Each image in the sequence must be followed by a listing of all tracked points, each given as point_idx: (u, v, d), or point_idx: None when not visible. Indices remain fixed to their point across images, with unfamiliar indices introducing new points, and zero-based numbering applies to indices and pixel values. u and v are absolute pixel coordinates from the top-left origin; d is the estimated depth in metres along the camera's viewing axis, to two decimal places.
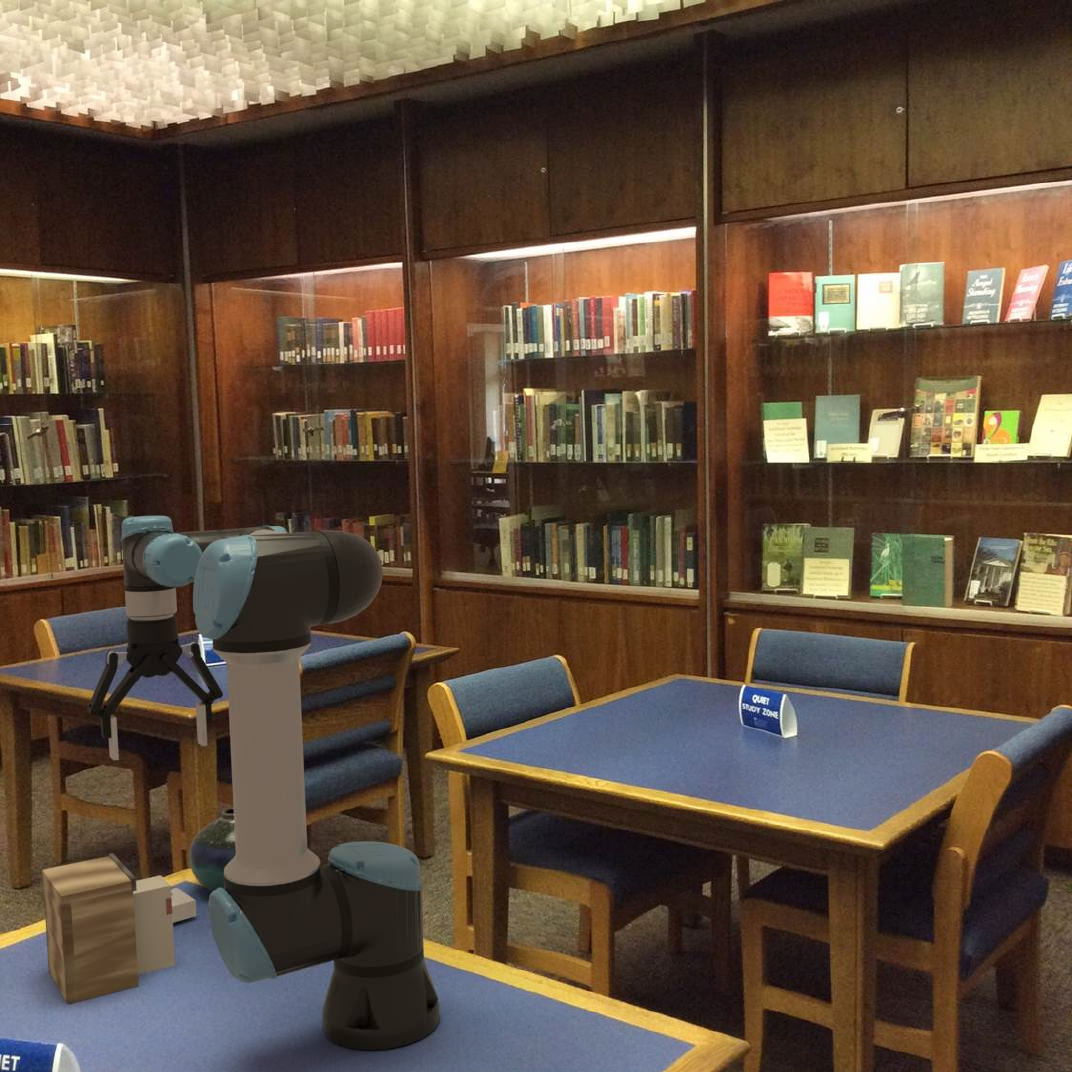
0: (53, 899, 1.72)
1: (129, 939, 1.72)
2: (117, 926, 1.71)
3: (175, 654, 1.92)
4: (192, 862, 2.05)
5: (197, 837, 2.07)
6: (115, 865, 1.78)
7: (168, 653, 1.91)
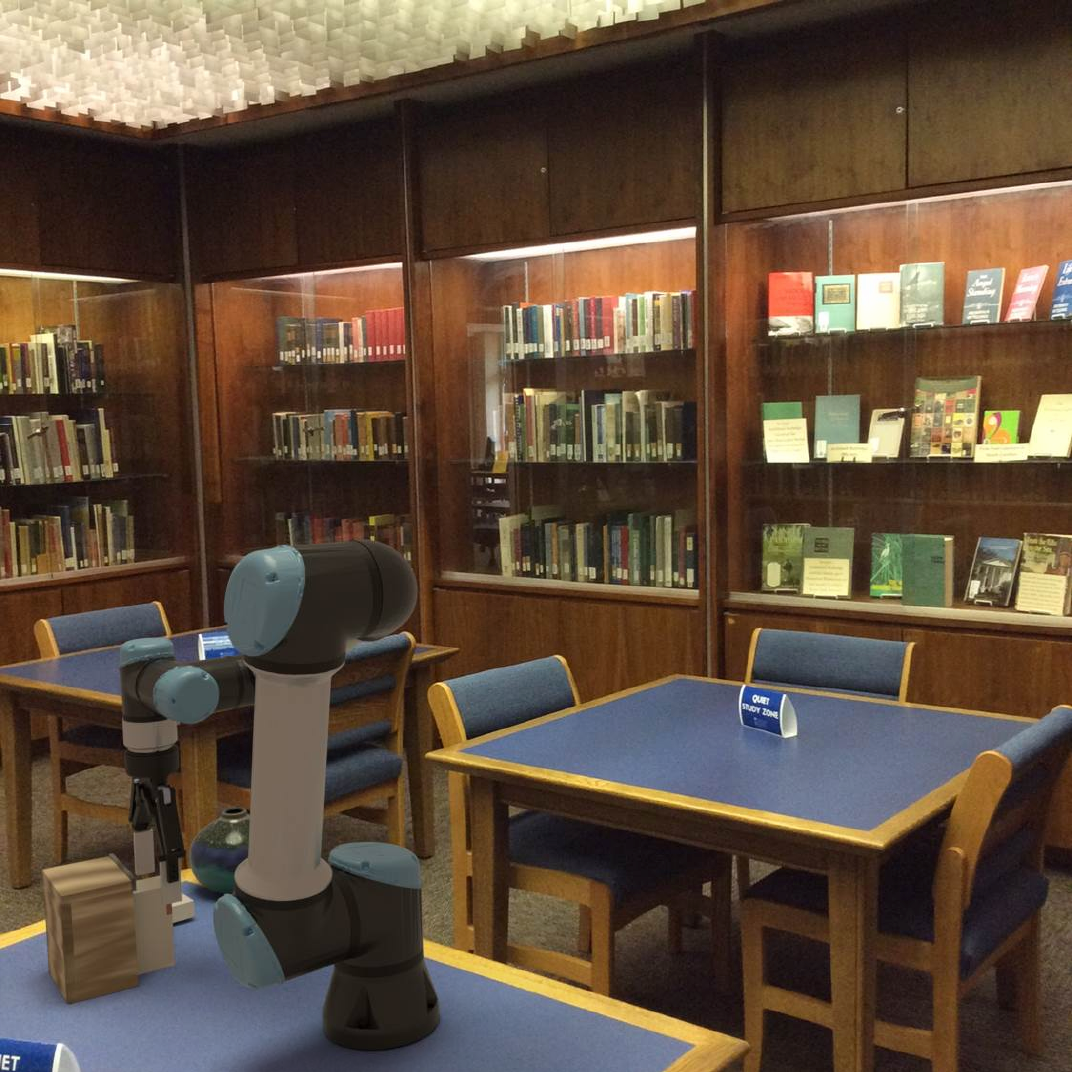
0: (53, 899, 1.72)
1: (129, 939, 1.72)
2: (117, 926, 1.71)
3: (151, 793, 1.76)
4: (192, 862, 2.05)
5: (197, 837, 2.07)
6: (115, 865, 1.78)
7: (149, 789, 1.77)
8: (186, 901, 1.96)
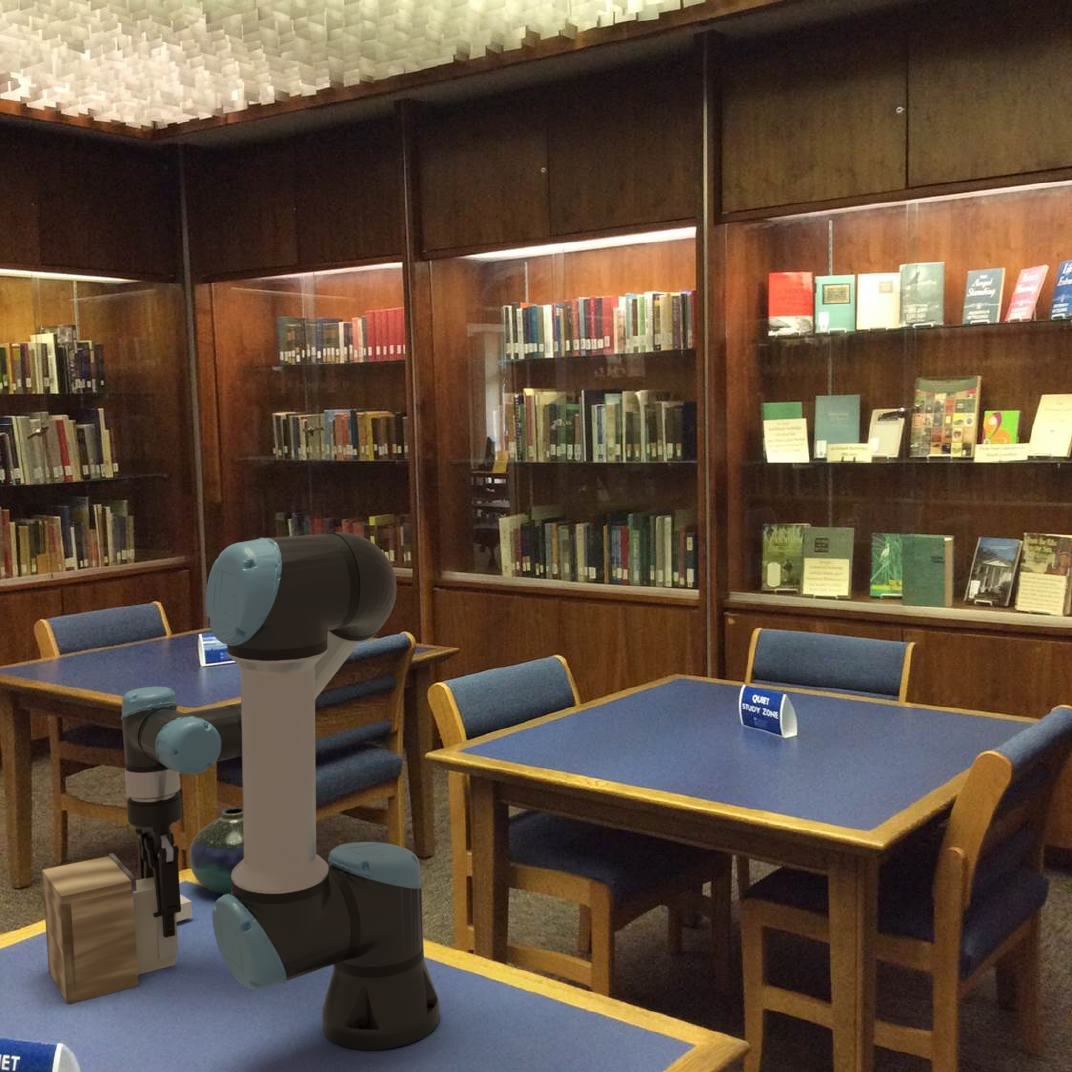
0: (53, 899, 1.72)
1: (129, 939, 1.72)
2: (117, 926, 1.71)
3: (154, 842, 1.77)
4: (192, 862, 2.05)
5: (197, 837, 2.07)
6: (115, 865, 1.78)
7: (152, 835, 1.77)
8: (184, 902, 1.95)
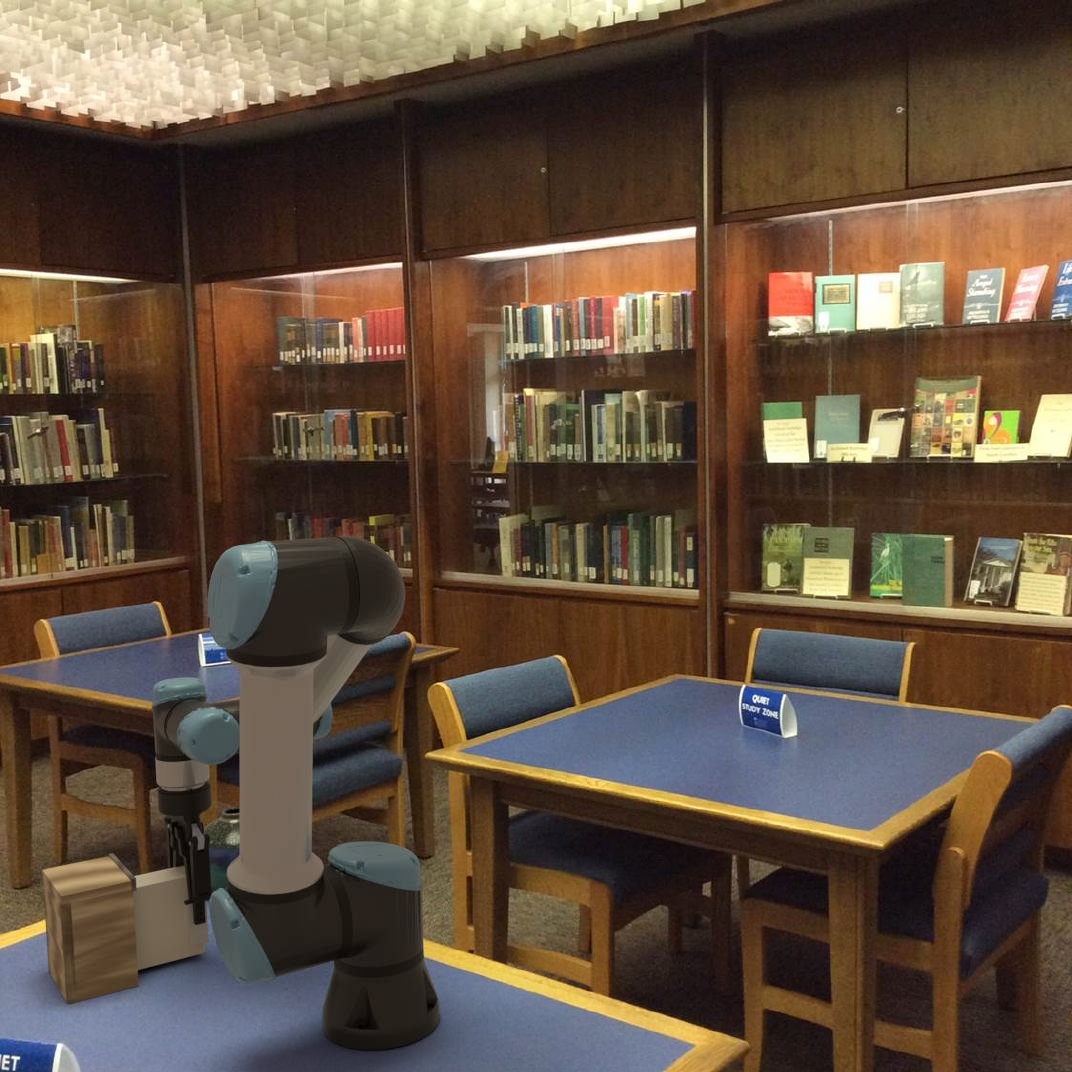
0: (53, 899, 1.72)
1: (129, 939, 1.72)
2: (117, 926, 1.71)
3: (184, 830, 1.79)
4: None
5: None
6: (115, 865, 1.78)
7: (182, 824, 1.80)
8: None
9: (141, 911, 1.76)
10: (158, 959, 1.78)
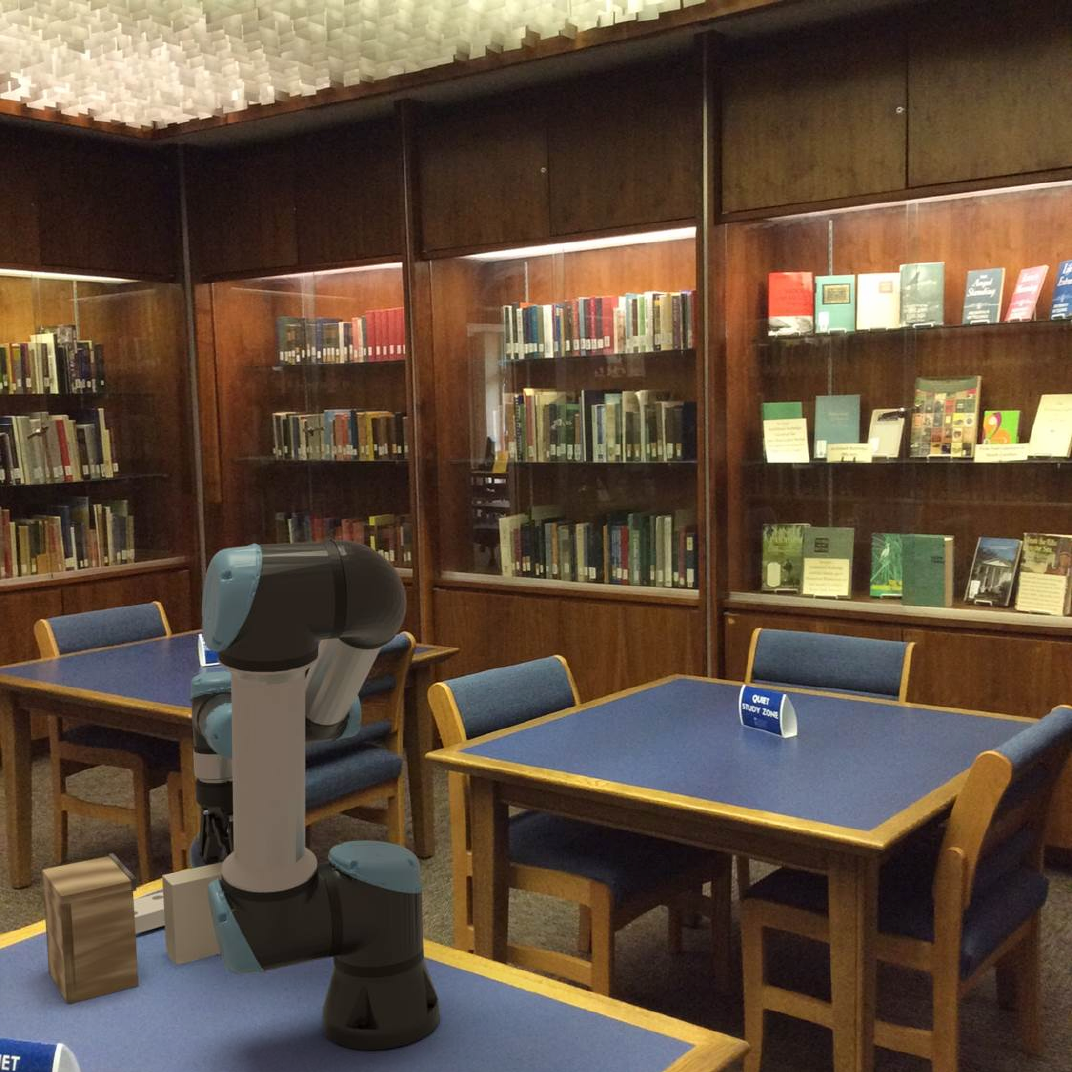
0: (53, 899, 1.72)
1: (129, 939, 1.72)
2: (117, 926, 1.71)
3: (222, 822, 1.82)
4: (192, 862, 2.05)
5: (197, 837, 2.07)
6: (115, 865, 1.78)
7: (220, 818, 1.83)
8: None
9: (181, 907, 1.80)
10: (197, 954, 1.82)
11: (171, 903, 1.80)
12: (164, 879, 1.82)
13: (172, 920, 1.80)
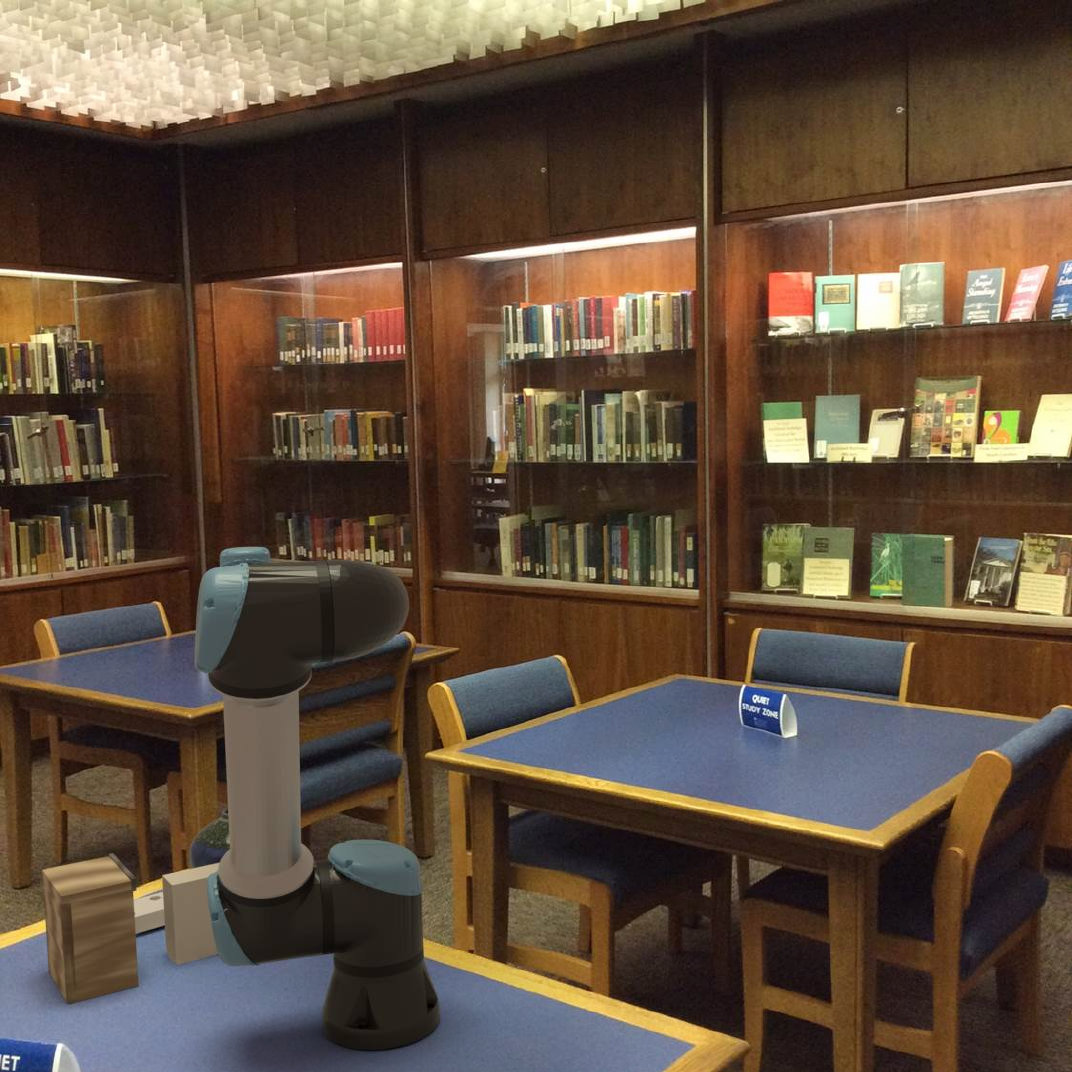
0: (53, 899, 1.72)
1: (129, 939, 1.72)
2: (117, 926, 1.71)
3: None
4: (192, 862, 2.05)
5: (197, 837, 2.07)
6: (115, 865, 1.78)
7: None
8: None
9: (181, 907, 1.80)
10: (197, 954, 1.82)
11: (171, 903, 1.80)
12: (164, 879, 1.82)
13: (172, 920, 1.80)
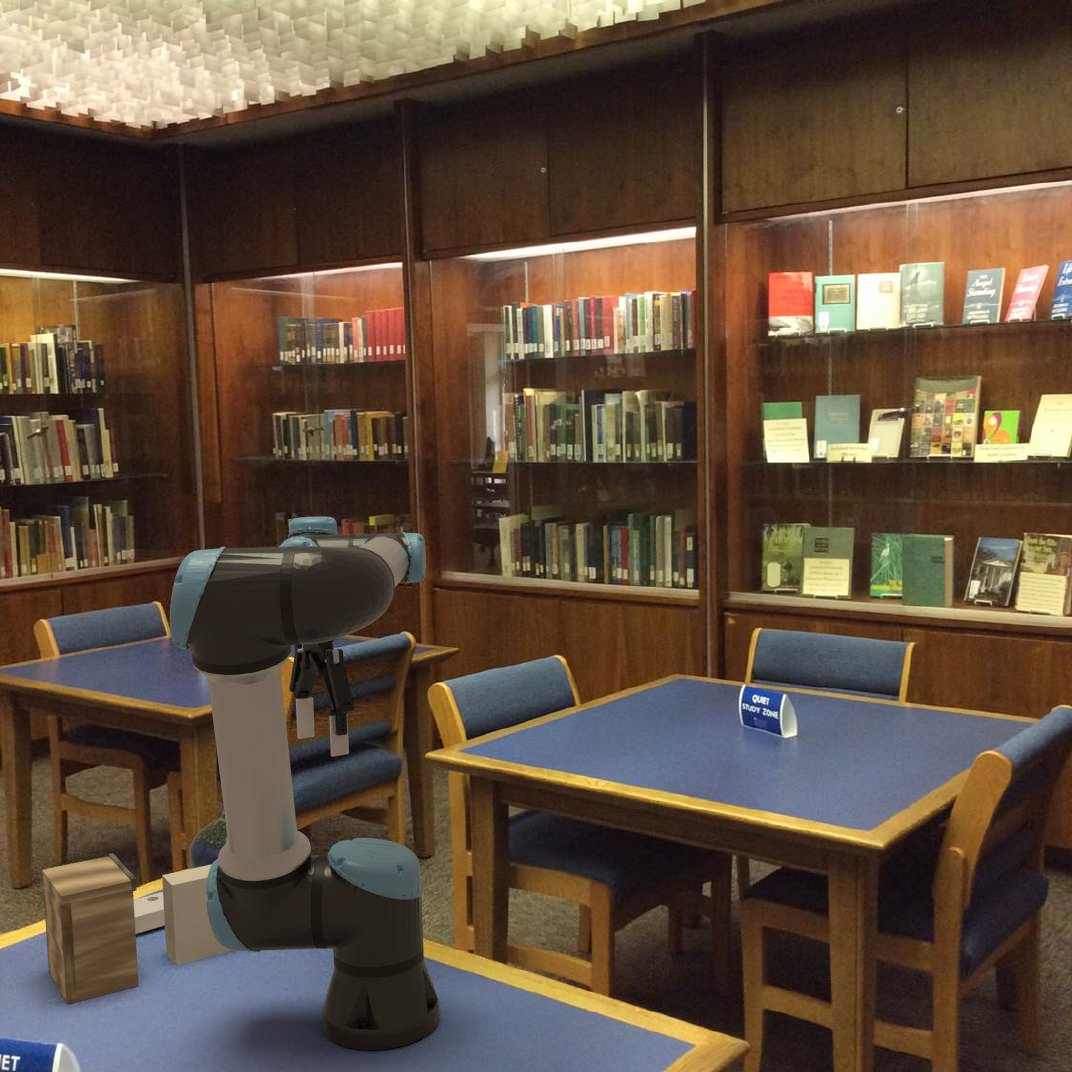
0: (53, 899, 1.72)
1: (129, 939, 1.72)
2: (117, 926, 1.71)
3: (319, 656, 1.93)
4: (192, 862, 2.05)
5: (197, 837, 2.07)
6: (115, 865, 1.78)
7: (316, 653, 1.94)
8: None
9: (181, 907, 1.80)
10: (197, 954, 1.82)
11: (171, 903, 1.80)
12: (164, 879, 1.82)
13: (172, 920, 1.80)
